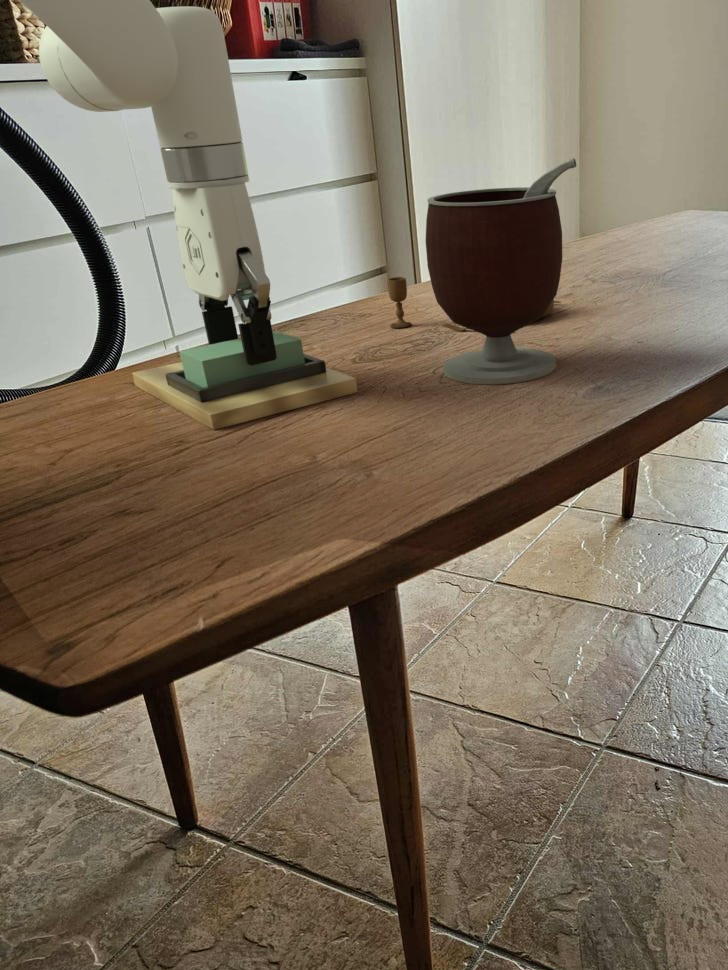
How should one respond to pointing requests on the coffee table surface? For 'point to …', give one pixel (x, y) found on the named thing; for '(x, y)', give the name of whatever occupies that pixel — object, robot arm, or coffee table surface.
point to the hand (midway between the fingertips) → (242, 354)
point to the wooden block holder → (246, 392)
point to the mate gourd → (496, 272)
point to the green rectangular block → (237, 360)
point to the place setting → (399, 294)
